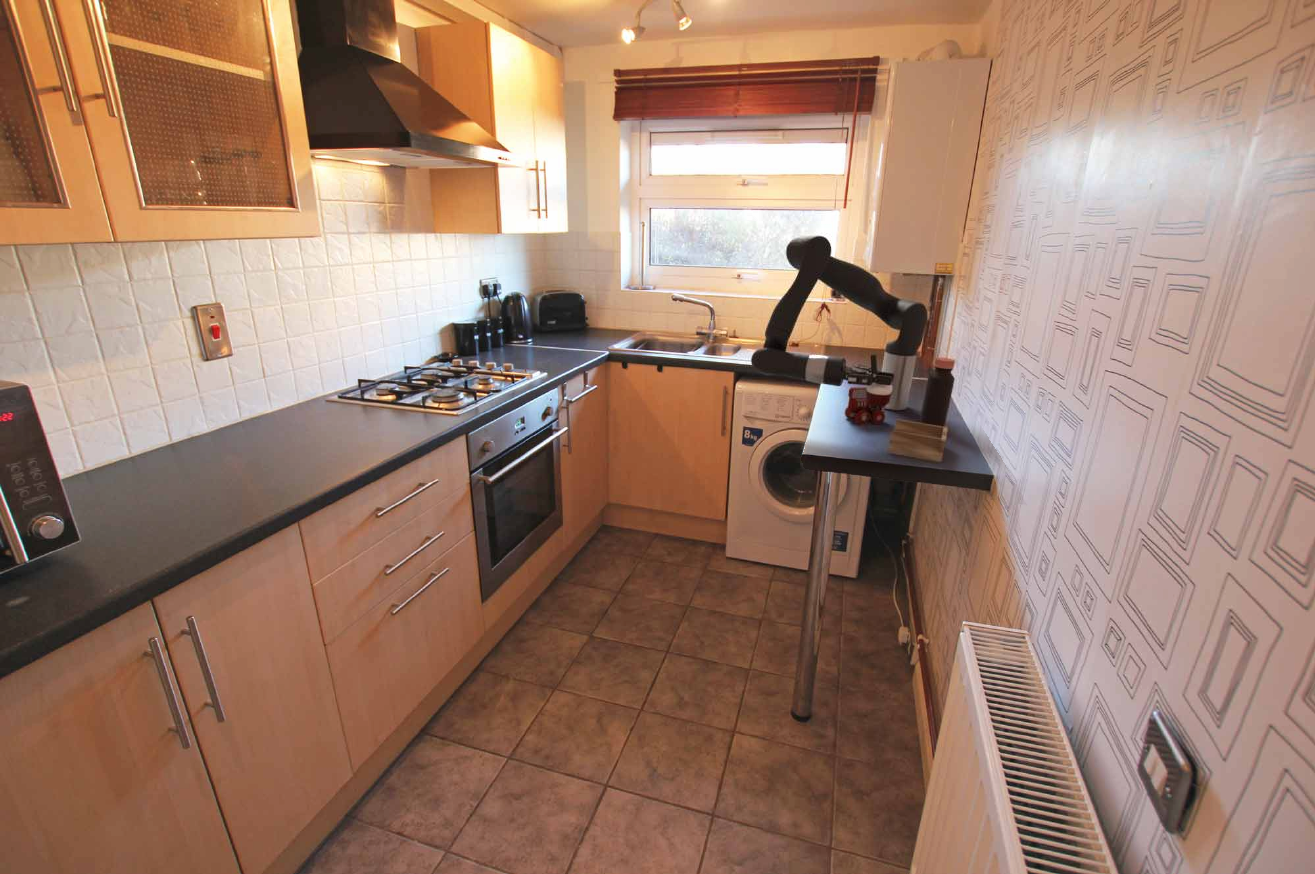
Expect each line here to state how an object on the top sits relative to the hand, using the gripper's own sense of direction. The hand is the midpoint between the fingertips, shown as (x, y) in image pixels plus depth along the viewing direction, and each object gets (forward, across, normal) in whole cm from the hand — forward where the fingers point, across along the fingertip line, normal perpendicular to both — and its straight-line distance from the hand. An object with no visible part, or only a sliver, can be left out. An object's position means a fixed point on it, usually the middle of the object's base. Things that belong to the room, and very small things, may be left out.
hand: (892, 379), depth 157 cm
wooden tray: (+9, -2, +17) cm, 19 cm away
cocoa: (-3, 0, +7) cm, 8 cm away
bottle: (+11, +21, +17) cm, 29 cm away
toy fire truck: (-7, +16, +17) cm, 24 cm away
